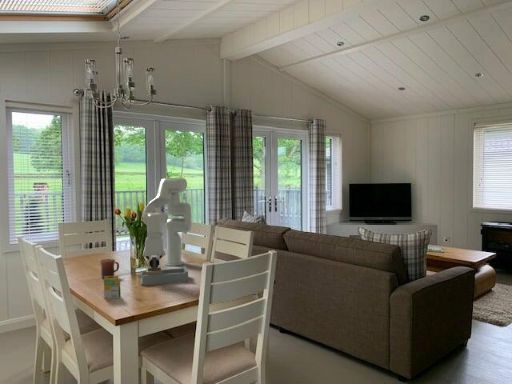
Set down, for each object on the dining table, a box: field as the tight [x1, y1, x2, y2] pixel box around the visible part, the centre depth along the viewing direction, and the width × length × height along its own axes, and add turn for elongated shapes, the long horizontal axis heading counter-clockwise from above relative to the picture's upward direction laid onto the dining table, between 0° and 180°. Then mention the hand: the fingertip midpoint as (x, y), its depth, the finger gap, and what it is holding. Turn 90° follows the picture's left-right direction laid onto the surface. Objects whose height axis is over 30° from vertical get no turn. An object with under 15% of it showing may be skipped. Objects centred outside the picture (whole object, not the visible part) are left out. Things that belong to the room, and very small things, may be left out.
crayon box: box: [103, 275, 121, 300], centre depth 200 cm, size 7×3×12 cm, turn 92°
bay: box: [140, 266, 189, 286], centre depth 232 cm, size 13×26×6 cm, turn 106°
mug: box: [99, 258, 120, 279], centre depth 239 cm, size 12×9×10 cm
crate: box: [145, 256, 163, 275], centre depth 230 cm, size 9×9×12 cm
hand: (154, 266), depth 230 cm, fingers closed on crate, 2 cm apart
